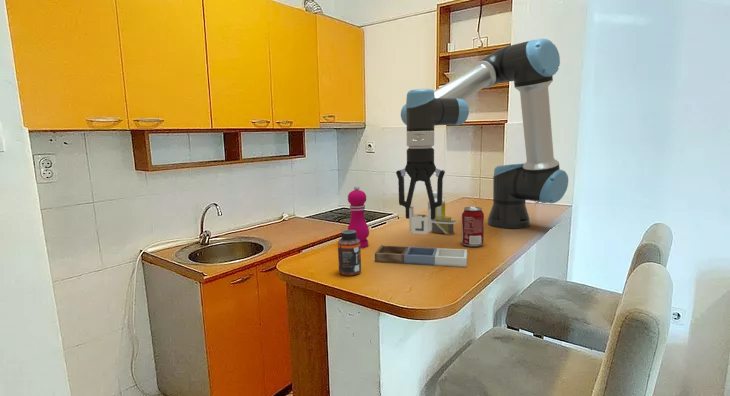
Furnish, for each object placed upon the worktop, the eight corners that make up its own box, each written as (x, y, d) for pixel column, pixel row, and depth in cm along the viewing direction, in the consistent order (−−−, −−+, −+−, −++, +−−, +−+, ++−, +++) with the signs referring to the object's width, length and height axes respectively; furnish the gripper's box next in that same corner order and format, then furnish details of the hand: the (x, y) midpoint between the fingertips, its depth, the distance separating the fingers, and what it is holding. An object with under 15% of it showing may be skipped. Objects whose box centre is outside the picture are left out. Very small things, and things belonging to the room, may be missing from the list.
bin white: (467, 257, 117) (467, 249, 117) (466, 267, 109) (466, 258, 109) (437, 256, 119) (437, 248, 119) (434, 265, 111) (434, 256, 111)
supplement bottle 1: (364, 275, 106) (362, 232, 104) (341, 277, 104) (340, 235, 102) (357, 267, 112) (356, 227, 110) (336, 270, 110) (335, 229, 108)
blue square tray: (437, 256, 119) (437, 248, 119) (434, 265, 111) (434, 256, 111) (409, 254, 122) (408, 246, 121) (404, 263, 114) (404, 255, 113)
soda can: (484, 248, 126) (484, 210, 124) (461, 247, 127) (462, 210, 125) (482, 242, 132) (483, 206, 131) (461, 241, 134) (461, 206, 132)
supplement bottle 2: (442, 222, 163) (443, 190, 161) (447, 225, 156) (447, 193, 154) (426, 222, 162) (426, 191, 160) (429, 226, 156) (429, 193, 154)
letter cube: (429, 230, 117) (429, 214, 116) (427, 234, 112) (427, 217, 111) (413, 229, 118) (413, 213, 117) (411, 233, 113) (411, 217, 113)
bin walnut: (408, 254, 122) (408, 246, 121) (403, 263, 114) (403, 255, 113) (381, 253, 124) (381, 245, 124) (374, 261, 116) (374, 253, 116)
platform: (462, 241, 136) (462, 222, 135) (412, 236, 145) (412, 218, 143) (471, 232, 147) (471, 215, 145) (423, 228, 155) (423, 211, 154)
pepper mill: (356, 241, 138) (354, 183, 135) (373, 244, 134) (372, 184, 130) (343, 246, 132) (340, 186, 129) (361, 250, 128) (359, 187, 125)
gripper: (386, 148, 110) (387, 232, 114) (452, 147, 105) (451, 234, 109) (391, 147, 117) (392, 225, 121) (453, 146, 113) (452, 228, 116)
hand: (420, 230), depth 115 cm, fingers closed on letter cube, 4 cm apart
